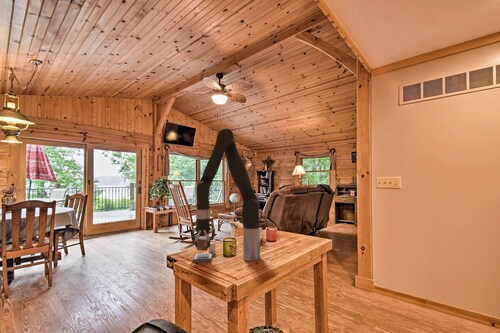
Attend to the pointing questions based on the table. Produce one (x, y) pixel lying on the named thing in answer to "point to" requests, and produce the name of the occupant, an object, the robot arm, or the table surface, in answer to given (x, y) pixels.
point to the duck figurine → (261, 233)
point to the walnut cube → (202, 244)
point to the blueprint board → (202, 257)
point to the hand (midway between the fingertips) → (202, 247)
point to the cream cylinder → (212, 248)
